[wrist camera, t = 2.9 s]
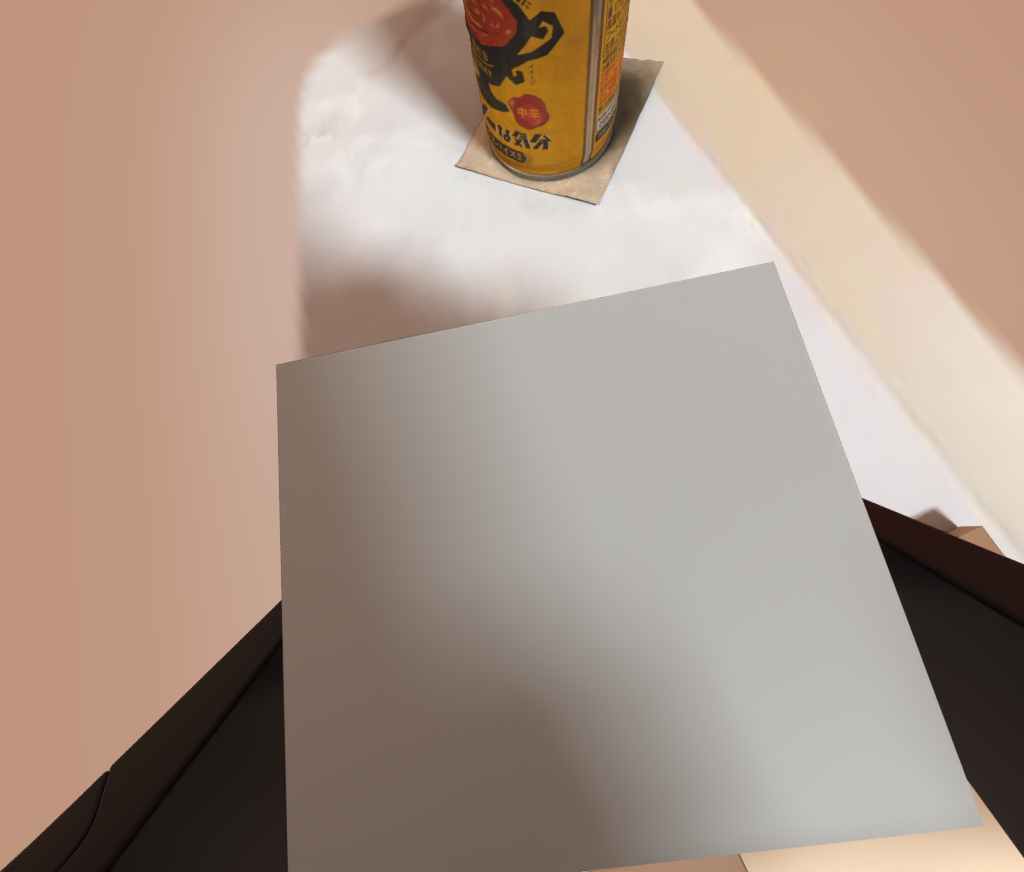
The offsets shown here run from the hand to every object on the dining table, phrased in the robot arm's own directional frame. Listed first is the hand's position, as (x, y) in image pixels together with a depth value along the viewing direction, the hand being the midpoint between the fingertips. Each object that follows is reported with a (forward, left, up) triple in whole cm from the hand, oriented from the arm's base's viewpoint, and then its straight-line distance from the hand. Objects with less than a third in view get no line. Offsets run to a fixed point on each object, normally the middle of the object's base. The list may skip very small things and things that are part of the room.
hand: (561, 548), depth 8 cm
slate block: (0, 0, -8) cm, 8 cm away
